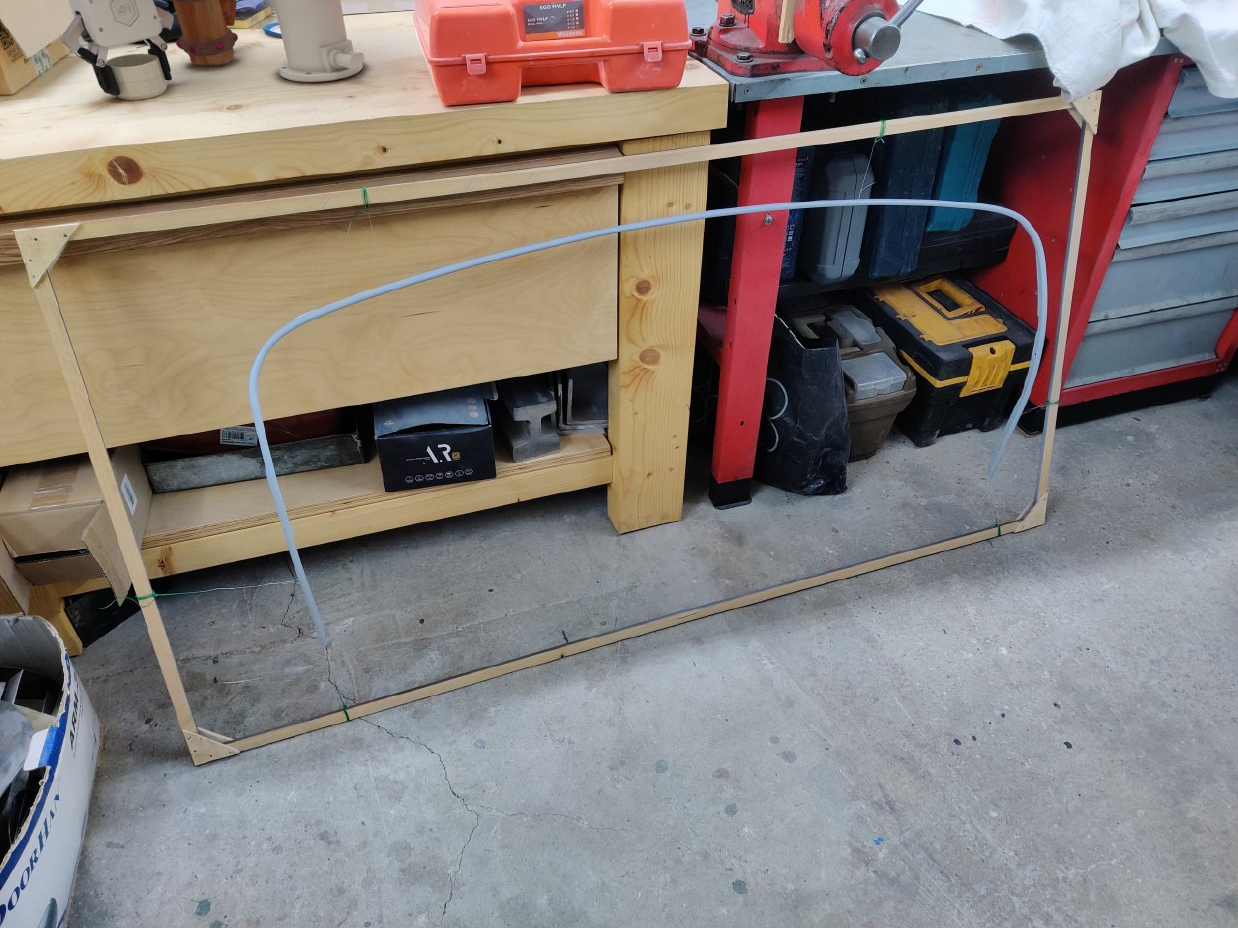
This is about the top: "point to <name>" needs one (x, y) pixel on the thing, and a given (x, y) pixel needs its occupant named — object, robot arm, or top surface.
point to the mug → (207, 30)
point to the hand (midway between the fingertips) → (138, 85)
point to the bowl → (138, 76)
